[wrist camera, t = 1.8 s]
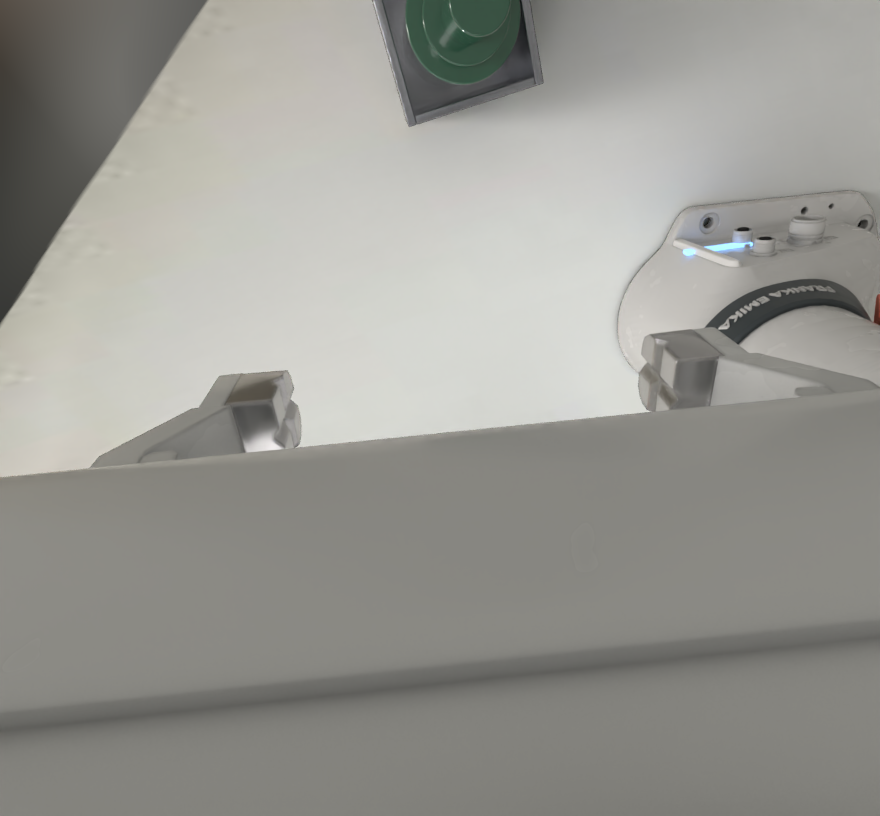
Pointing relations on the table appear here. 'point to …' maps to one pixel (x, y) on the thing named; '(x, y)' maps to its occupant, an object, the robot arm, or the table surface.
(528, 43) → the bin
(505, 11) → the bottle
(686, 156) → the table surface
